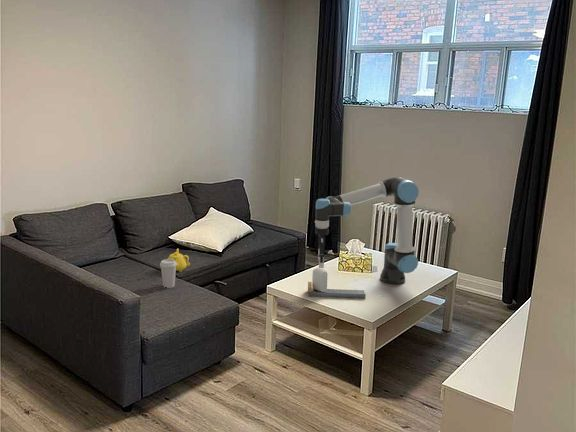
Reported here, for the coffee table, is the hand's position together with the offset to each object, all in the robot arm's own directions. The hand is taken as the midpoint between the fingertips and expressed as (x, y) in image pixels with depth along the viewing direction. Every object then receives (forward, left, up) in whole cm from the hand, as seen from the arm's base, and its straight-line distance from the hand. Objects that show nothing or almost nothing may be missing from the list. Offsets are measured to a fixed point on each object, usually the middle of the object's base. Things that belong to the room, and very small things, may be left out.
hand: (320, 263), depth 309 cm
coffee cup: (+87, -4, -18) cm, 89 cm away
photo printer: (0, 0, -16) cm, 16 cm away
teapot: (+88, -32, -18) cm, 95 cm away
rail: (-9, +1, -18) cm, 20 cm away
